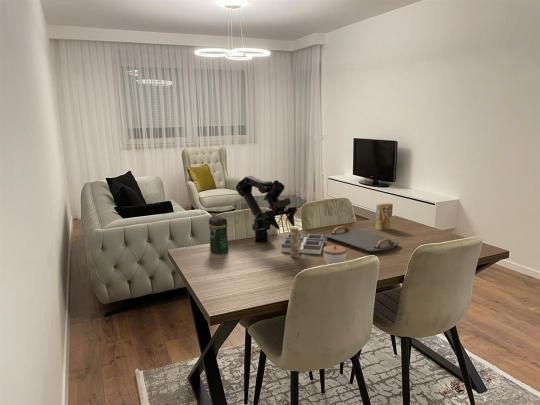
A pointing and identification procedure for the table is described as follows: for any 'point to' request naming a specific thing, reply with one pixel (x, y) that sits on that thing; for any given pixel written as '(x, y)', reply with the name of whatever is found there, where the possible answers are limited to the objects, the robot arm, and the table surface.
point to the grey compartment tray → (305, 244)
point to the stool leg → (294, 242)
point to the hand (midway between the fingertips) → (286, 227)
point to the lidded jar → (334, 254)
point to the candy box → (383, 216)
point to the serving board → (362, 239)
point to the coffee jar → (218, 235)
